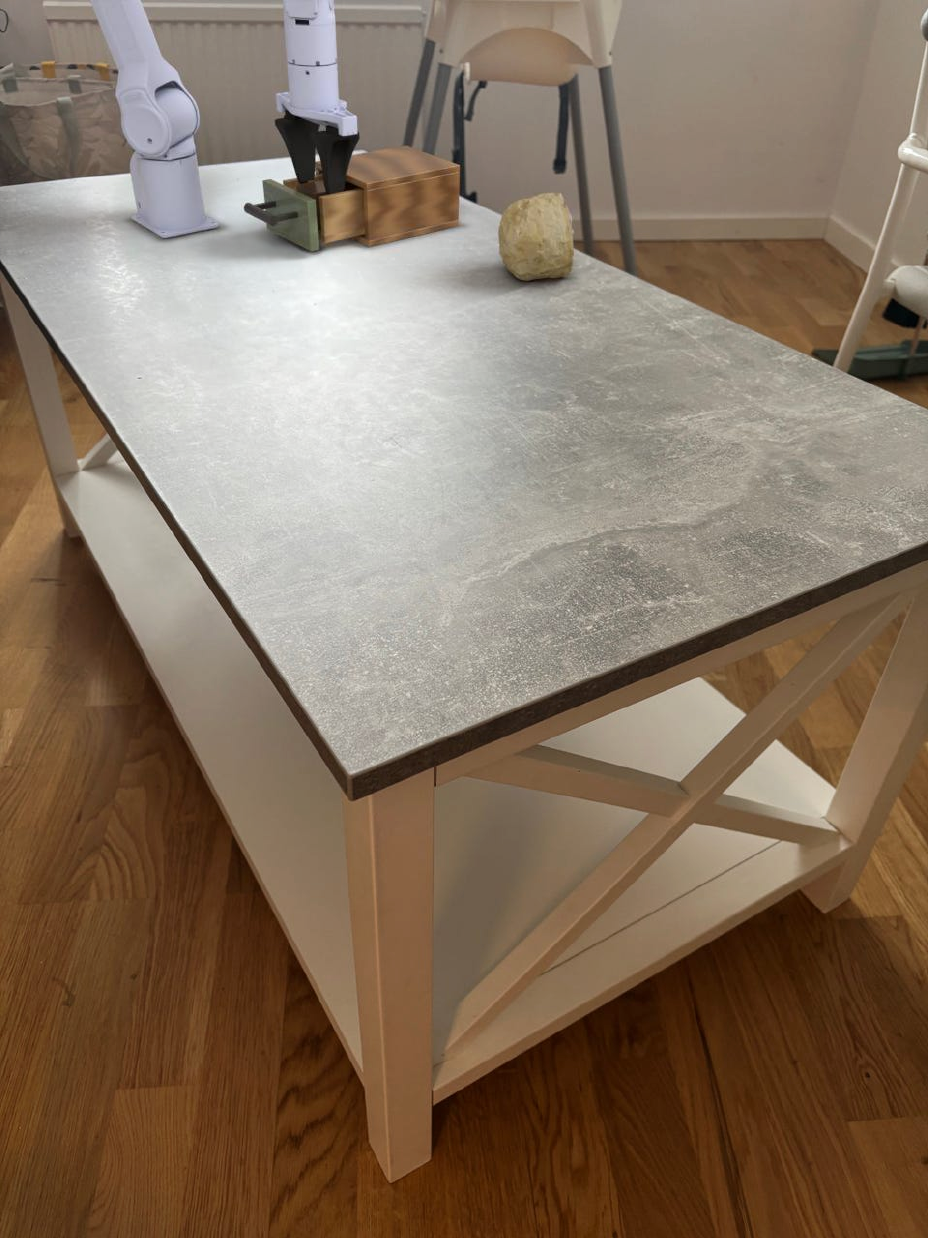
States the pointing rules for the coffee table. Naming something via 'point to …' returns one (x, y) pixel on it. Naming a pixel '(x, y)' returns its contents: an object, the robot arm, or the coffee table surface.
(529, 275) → the beige lumpy stone
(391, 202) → the cabinet
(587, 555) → the coffee table surface
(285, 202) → the drawer
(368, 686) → the coffee table surface
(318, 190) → the block
